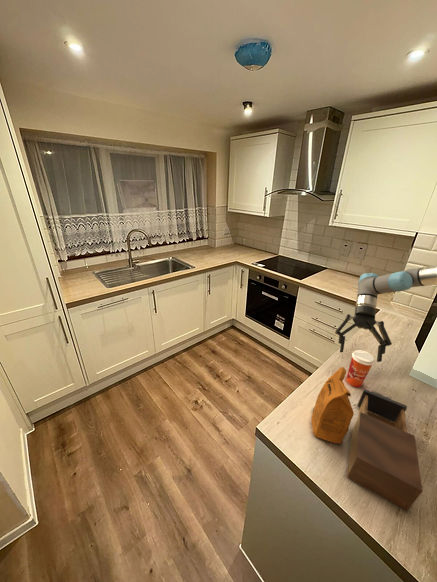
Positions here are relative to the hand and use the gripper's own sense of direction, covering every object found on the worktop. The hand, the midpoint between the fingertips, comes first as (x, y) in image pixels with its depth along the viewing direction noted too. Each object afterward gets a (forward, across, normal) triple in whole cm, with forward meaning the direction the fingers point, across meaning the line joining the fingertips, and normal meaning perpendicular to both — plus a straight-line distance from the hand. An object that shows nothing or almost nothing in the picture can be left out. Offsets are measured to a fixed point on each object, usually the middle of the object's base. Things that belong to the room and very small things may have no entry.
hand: (359, 356), depth 95 cm
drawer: (+22, -5, +8) cm, 24 cm away
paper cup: (+10, 0, -5) cm, 11 cm away
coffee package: (+28, +11, +13) cm, 33 cm away
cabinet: (+33, -3, +18) cm, 38 cm away
